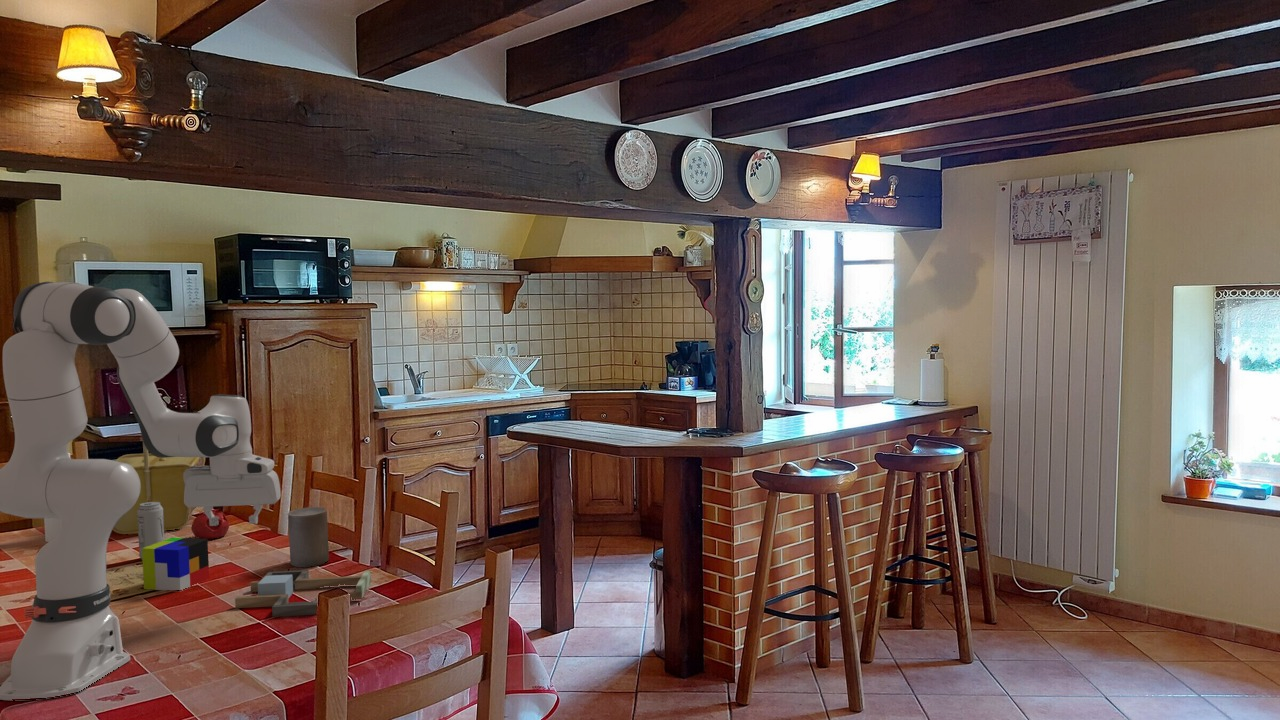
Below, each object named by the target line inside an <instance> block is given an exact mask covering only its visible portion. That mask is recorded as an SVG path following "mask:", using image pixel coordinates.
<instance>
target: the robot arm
mask: <svg viewBox="0 0 1280 720" xmlns="http://www.w3.org/2000/svg"><path fill="white" fill-rule="evenodd" d="M12 313H13V323H12V328H13V330H14V332H15V334H14V335H12V336H10V337H9V338H8V339H7V340H6V341H5V343H4V344H3V346H2V374H3V381H4V388H5V392H6V396H7V401H8V405H9V409H10V415H11V419H12V424H13V431H14V446H13V451H12V454H11V457H10V459H9V460H8V461H7V463H5V465H4V466H2V468H0V512H1V513H3V514H7V515H11V516H15V517H19V518H25V519H44V518H60V519H61V529H60V532H59V535H58V537H57V538H55V539H54V540H52V541H50V542H46V543H45V544H44V545H43V546H42V547H41V548H40V549H39V550H38V551H37V554H36V556H35V558H34V565H35V567H34V568H35V585H36V586H35V587H36V594H35V595H34V598H33V599H34V600H33V602H32V606H26V607H25V608H24V611H23V613H24V614H23V617H24V619H31V623H30V625H29V627H28V628H27V630H26V632H25V634H24V635H23V637H22V639H21V641H20V643H19V644H18V646H17V648H16V651H15V652H14V654H13V656H12V657H11V662H10V663H11V665H10V675H9V676H7V678H6V679H5V681H3V683H2V684H1V685H0V700H3V701H13V700H12V699H30V698H46V699H48V698H47V697H53V696H58V695H64V694H67V693H68V694H69V693H74V692H78V693H80V692H82V691H84V690H85V689H87V688H89V687H90V686H92V685H93V684H95V683H96V681H97V680H98V681H100V680H102V679H103V678H105V677H106V676H107V674H108V673H109V674H110V672H111V673H112V672H114V671H115V670H117V669H118V667H119V668H121V667H122V666H123V665H125V664H126V663H128V662H130V661H131V655H130V653H129V652H125V651H124V649H123V643H122V634H121V628H120V627H121V626H120V621H119V617H118V616H117V615H116V614H115V613H114V612H113V611H112V609H111V608H110V604H111V596H112V592H111V590H110V585H109V584H108V582H107V550H108V543H109V539H110V536H111V534H112V531H113V530H112V529H113V527H114V525H115V524H116V523H117V521H118V520H119V519H120V518H121V517H122V516H123V515H124V514H125V513H127V512H128V511H129V510H130V509H131V508H132V507H133V506H134V504H135V503H136V501H137V499H138V497H139V494H140V489H141V484H140V479H139V476H138V474H137V472H136V471H135V469H134V468H133V467H132V466H131V465H129V464H126V463H122V462H117V461H116V460H111V459H106V458H71V456H70V457H69V456H68V453H69V452H68V446H69V445H68V444H69V443H70V442H72V441H73V440H75V439H76V438H78V437H79V436H80V435H81V434H82V433H83V432H84V430H85V429H86V427H87V424H88V420H89V419H88V414H87V410H86V405H85V399H84V396H83V390H82V387H81V382H80V378H79V374H78V372H77V368H76V365H75V363H76V362H75V360H76V359H75V357H76V352H77V349H78V347H79V345H93V346H104V345H107V347H108V349H109V350H110V352H111V354H112V355H113V357H114V358H115V360H116V362H117V368H116V375H117V376H116V377H117V381H118V383H119V385H120V388H121V390H122V393H123V395H124V396H125V397H124V398H125V399H126V401H127V403H128V405H129V407H130V408H131V411H132V413H133V416H134V418H135V419H136V421H137V424H138V426H139V430H140V433H141V438H142V443H143V442H144V445H145V447H146V448H147V450H148V453H151V454H152V455H154V456H156V457H160V458H166V457H205V459H206V458H209V465H207V464H206V465H204V466H190V468H188V469H186V470H185V471H184V474H183V478H184V483H185V490H184V504H185V505H186V506H187V507H196V508H203V512H204V513H205V514H206V516H207V517H208V518H209V523H210V526H217V525H218V524H219V521H218V520H219V517H215V516H214V514H213V513H212V511H211V510H214V507H232V506H253V510H255V511H254V514H251V515H250V516H248V521H249V522H248V524H249V525H257V524H258V522H259V514H260V513H261V512H262V509H263V505H274V504H276V503H277V502H278V501H279V500H280V498H281V494H282V493H281V484H280V479H279V476H278V473H277V472H276V471H274V470H273V469H274V467H275V460H274V459H271V458H268V457H263V456H260V455H255V454H253V448H252V445H251V435H252V434H251V433H252V422H251V421H252V419H251V413H250V411H251V410H250V406H249V404H248V403H249V402H248V400H247V399H246V397H243V396H241V395H236V394H220V393H219V394H214V395H212V396H210V398H209V401H208V403H207V405H205V407H203V408H202V409H201V410H199V411H197V412H178V411H174V410H171V409H170V408H168V407H167V406H165V404H164V401H163V399H162V396H161V395H160V393H159V391H158V388H157V385H156V383H155V382H158V381H160V380H161V379H163V378H164V377H165V376H166V375H168V374H169V373H170V372H171V371H172V370H173V369H174V367H175V366H176V364H177V362H178V361H179V357H180V348H179V345H178V343H177V339H176V338H175V336H174V334H173V333H172V331H171V329H170V328H169V326H168V325H167V323H166V322H165V320H164V318H163V317H162V316H161V315H160V312H158V310H157V309H156V308H155V306H154V305H152V304H151V302H150V301H149V300H148V299H147V298H146V297H145V296H144V295H143V294H142V293H141V292H139V291H137V290H135V289H132V288H119V289H115V290H113V289H110V288H108V287H103V286H93V285H88V284H87V285H86V284H83V283H78V282H69V281H68V282H67V281H65V282H63V281H62V282H61V281H60V282H54V281H43V282H37V283H34V284H30V285H28V286H26V287H25V288H23V289H22V290H21V291H20V292H19V294H18V295H17V296H16V299H15V302H14V305H13V311H12ZM70 458H71V459H70ZM188 470H190V471H188ZM197 470H199V471H197ZM204 513H203V514H204ZM113 670H114V671H113ZM109 674H108V675H109ZM105 675H106V676H105ZM102 677H103V678H102ZM99 679H100V680H99ZM98 681H97V682H98ZM94 682H95V683H94ZM92 683H93V684H92ZM91 684H92V685H91ZM89 685H90V686H89ZM88 686H89V687H88ZM86 687H87V688H86ZM84 688H85V689H84ZM83 689H84V690H83ZM81 690H82V691H81ZM79 691H80V692H79ZM74 694H75V693H74Z"/></svg>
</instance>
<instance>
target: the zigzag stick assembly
mask: <svg viewBox="0 0 1280 720" xmlns="http://www.w3.org/2000/svg"><path fill="white" fill-rule="evenodd" d="M309 571H310V570H309V569H301V570H300V569H299V570H283V571H282V570H281V571H280V570H279V571H268V572H267V573H266V574H265V575H264V576H263V577H262V578H261V580H262V579H263V578H264V577H265V576H272V575H292V576H293V591H296V590H297V591H298V590H313V589H314V590H315V589H316V588H319V589H321V588H320V587H324V586H329V587H330V586H338V585H339V584H340V585H344V584H345V585H356V587H355V590H346V591H347V592H348V593H349V594H350V602H349V603H352V602H351V597H352V600H354V599H355V600H356V599H362V597H363V595H364V593H365V592H366V590H367V588H368V587H369V585H370V583H371V584H372V581H371V580H372V579H371V570H370V569H365V570H364V571H363V573H362V575H352V576H351V575H350V576H349V575H348V576H331V577H327V576H326V577H312V578H310V575H309V574H310V572H309ZM261 580H255V581H254V580H253V581H251V582H249V583H250V593H258V583H259V582H260V581H261ZM370 586H371V585H370ZM334 588H338V587H334ZM334 588H333V589H334ZM369 588H370V587H369ZM369 588H368V589H369ZM325 589H328V588H327V587H326V588H325ZM367 591H368V590H367ZM366 593H367V592H366ZM317 597H318V595H317V596H316V598H315V599H314V600H313V601H298V602H297V601H295V602H289V598H288V594H280V595H261V596H258V595H245V596H236V597H235V598H234V599H235V600H234V601H235V603H234V604H235V609H245V608H246V609H247V608H248V609H249V608H261V607H262V608H263V607H267V608H268V607H271V612H272V613H271V614H272V617H274V618H276V617H293V616H294V617H296V616H309V615H311V616H312V615H313V616H314V615H317V614H316V612H317Z"/></svg>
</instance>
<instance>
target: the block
mask: <svg viewBox="0 0 1280 720" xmlns="http://www.w3.org/2000/svg"><path fill="white" fill-rule="evenodd" d="M264 576H265V575H264ZM264 576H263V577H264ZM263 577H262V578H263ZM262 578H261V579H262ZM259 581H260V580H259ZM293 593H294V590H293V576H292V575H272V576H265V577H264V578H263V579H262V580H261V581H260V582H259V583H258V592H257V596H261V595H280V594H288V599H290V597H291V596H292V595H293Z"/></svg>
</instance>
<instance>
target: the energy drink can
mask: <svg viewBox="0 0 1280 720" xmlns="http://www.w3.org/2000/svg"><path fill="white" fill-rule="evenodd" d="M137 515H138V535H137V536H138V553H139V554H138V556H139V558H140V559H141V561H142V562H143V558H142V548H144V547H147V546H150V545H153V544H155V543H158V542H161V541H164V540H165V531H164V519H163V508H162V506H161V505H160V502H146V503H142V504H140V507H139V509H138V511H137Z"/></svg>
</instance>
